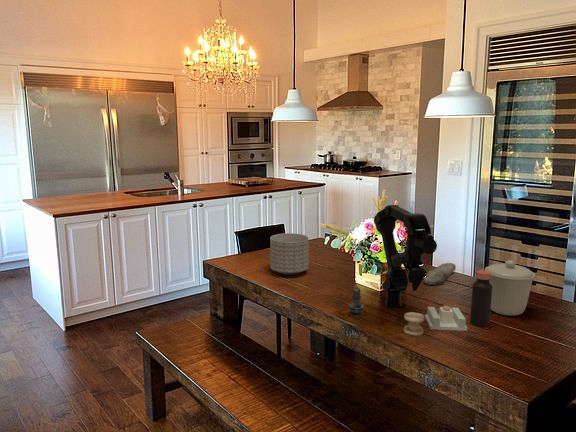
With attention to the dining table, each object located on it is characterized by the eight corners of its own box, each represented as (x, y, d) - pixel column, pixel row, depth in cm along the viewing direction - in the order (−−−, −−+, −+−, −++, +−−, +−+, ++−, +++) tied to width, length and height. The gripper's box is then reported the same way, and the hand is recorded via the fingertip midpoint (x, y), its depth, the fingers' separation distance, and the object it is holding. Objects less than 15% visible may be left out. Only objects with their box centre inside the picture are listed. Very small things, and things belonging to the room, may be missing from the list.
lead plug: (438, 318, 180) (439, 304, 179) (449, 318, 180) (450, 305, 179) (441, 322, 177) (442, 308, 175) (452, 323, 176) (453, 309, 175)
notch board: (424, 317, 184) (425, 306, 184) (459, 318, 183) (460, 307, 182) (430, 329, 174) (431, 318, 173) (467, 330, 173) (468, 319, 172)
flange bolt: (353, 310, 191) (354, 281, 189) (366, 313, 188) (367, 285, 185) (345, 314, 187) (346, 285, 185) (358, 318, 183) (359, 289, 181)
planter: (308, 278, 230) (308, 242, 226) (269, 278, 230) (269, 242, 226) (307, 267, 248) (308, 233, 245) (271, 266, 249) (271, 233, 245)
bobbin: (402, 327, 176) (403, 311, 174) (421, 327, 175) (422, 312, 174) (405, 335, 169) (405, 319, 168) (425, 336, 168) (426, 320, 167)
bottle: (477, 327, 175) (482, 275, 171) (466, 320, 182) (469, 270, 178) (493, 325, 177) (497, 274, 173) (481, 318, 183) (485, 268, 179)
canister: (532, 307, 194) (537, 258, 190) (529, 323, 178) (534, 270, 174) (485, 299, 203) (489, 251, 199) (478, 314, 188) (482, 262, 183)
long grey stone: (460, 271, 245) (440, 269, 251) (460, 261, 245) (441, 259, 250) (440, 287, 216) (419, 284, 222) (440, 276, 216) (419, 273, 221)
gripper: (389, 240, 189) (388, 278, 192) (396, 253, 171) (394, 294, 174) (418, 241, 188) (416, 279, 191) (427, 254, 170) (425, 295, 173)
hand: (412, 286), depth 182 cm, fingers open, 9 cm apart
